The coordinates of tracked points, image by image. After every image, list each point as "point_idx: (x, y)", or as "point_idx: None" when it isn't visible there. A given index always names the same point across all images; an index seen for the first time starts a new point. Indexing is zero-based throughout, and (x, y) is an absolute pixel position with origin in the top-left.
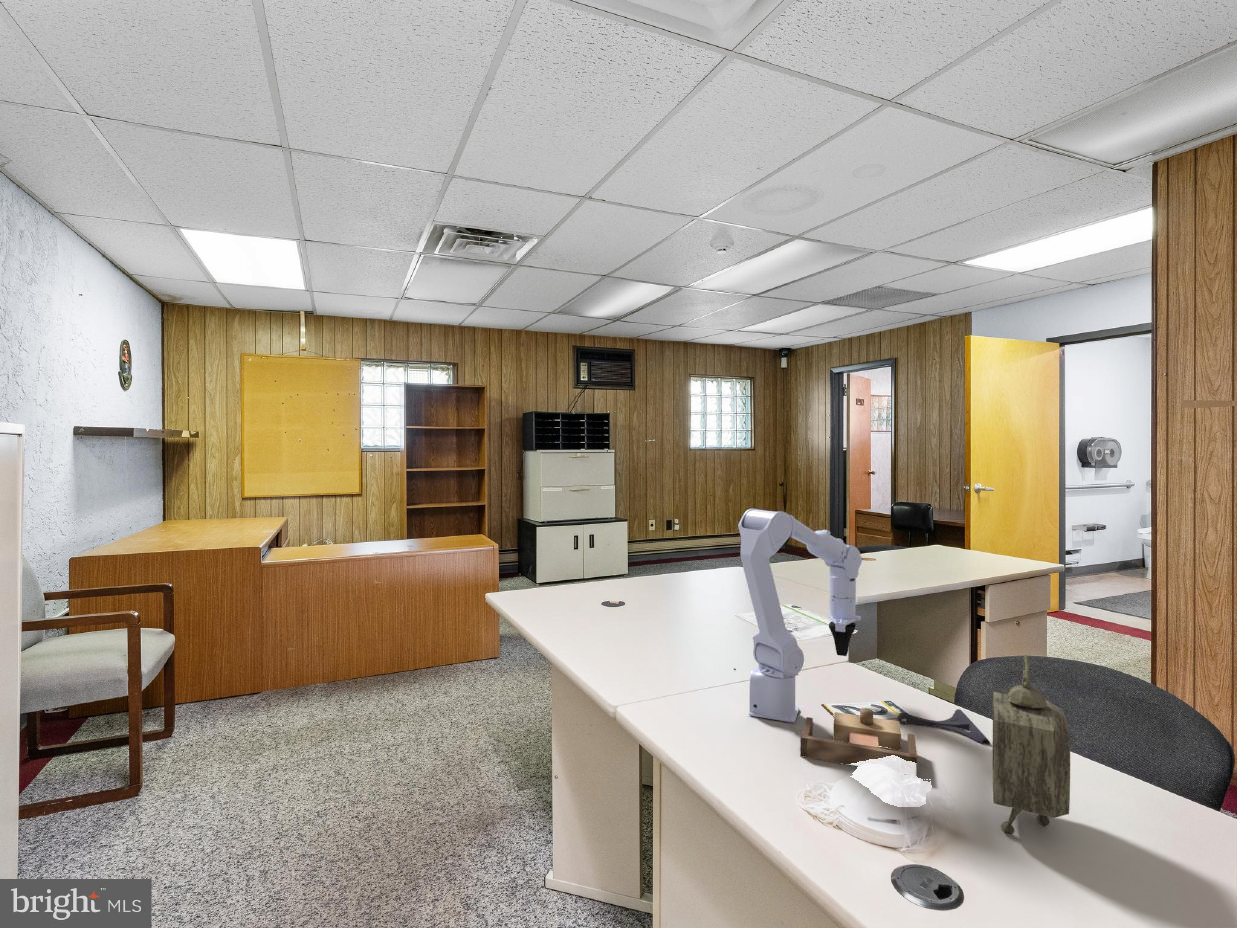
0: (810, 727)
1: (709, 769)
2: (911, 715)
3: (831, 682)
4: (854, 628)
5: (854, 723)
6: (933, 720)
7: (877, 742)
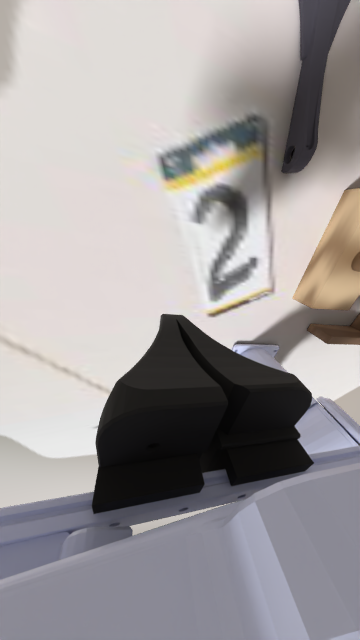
0: (352, 336)
1: (347, 385)
2: (306, 123)
3: (85, 300)
4: (297, 390)
5: (357, 280)
6: (315, 36)
7: None
